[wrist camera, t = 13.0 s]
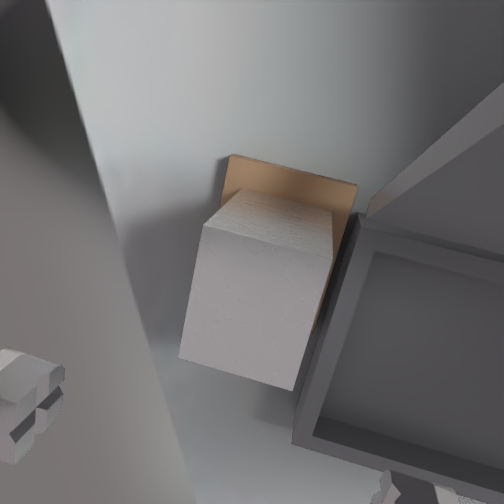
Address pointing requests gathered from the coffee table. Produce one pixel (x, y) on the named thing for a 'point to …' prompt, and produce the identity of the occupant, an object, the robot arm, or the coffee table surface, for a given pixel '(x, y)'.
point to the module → (257, 287)
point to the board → (293, 193)
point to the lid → (454, 183)
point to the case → (411, 362)
